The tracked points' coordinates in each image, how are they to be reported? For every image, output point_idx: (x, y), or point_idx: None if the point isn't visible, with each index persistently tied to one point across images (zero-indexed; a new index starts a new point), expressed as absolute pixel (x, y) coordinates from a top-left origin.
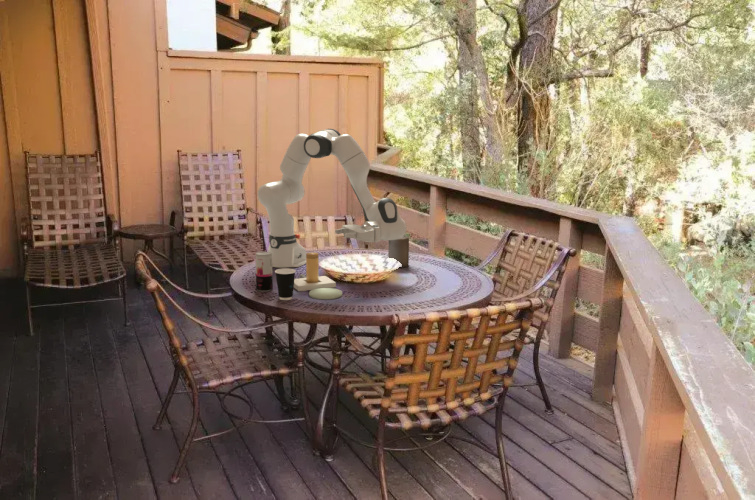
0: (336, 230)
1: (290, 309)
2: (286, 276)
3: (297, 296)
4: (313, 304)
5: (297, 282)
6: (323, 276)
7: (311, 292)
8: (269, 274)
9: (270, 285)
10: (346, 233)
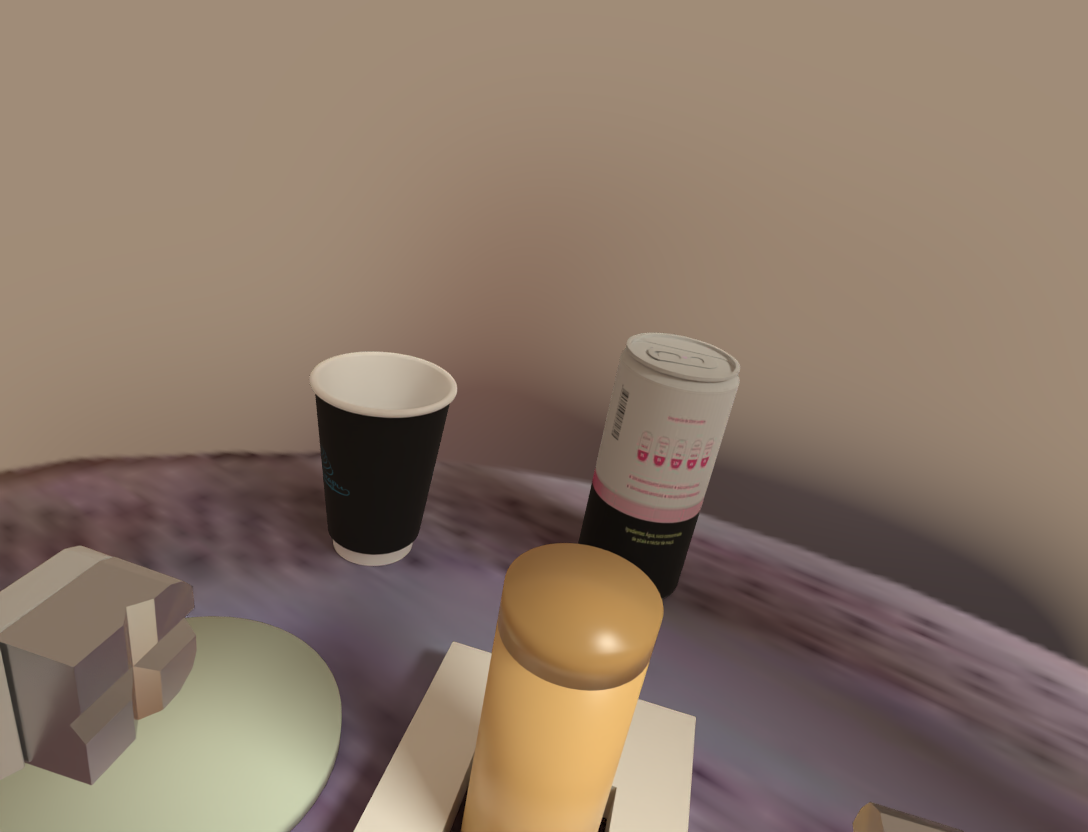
0: (887, 808)
1: (197, 462)
2: (331, 380)
3: (349, 597)
4: (123, 555)
5: None
6: None
7: (289, 653)
8: (595, 477)
9: None
10: (75, 586)
